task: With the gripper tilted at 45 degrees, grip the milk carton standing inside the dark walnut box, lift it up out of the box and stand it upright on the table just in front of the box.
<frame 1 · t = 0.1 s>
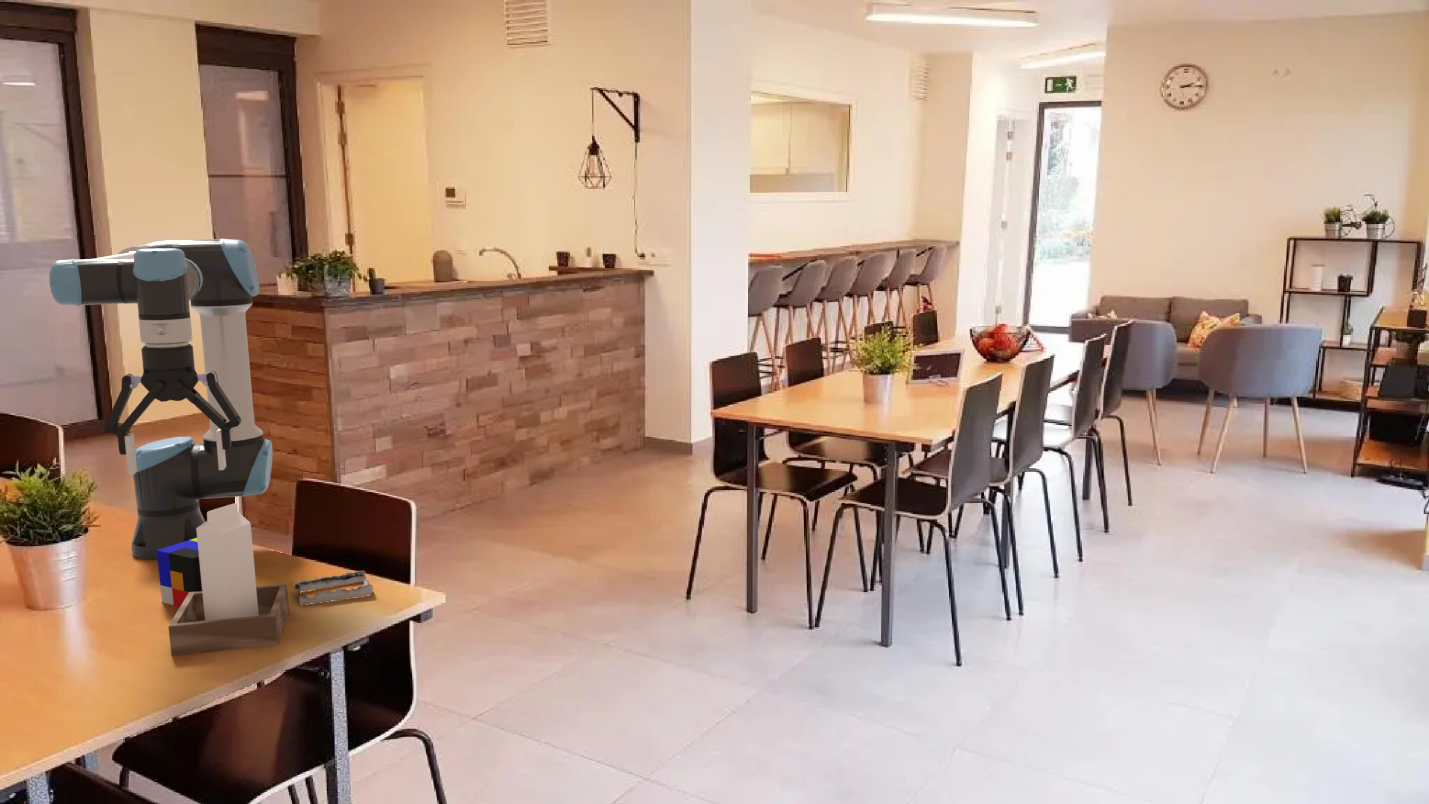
hand: (178, 471, 177), 28 cm above the table, tool pointing down, fingers open, 13 cm apart
milk: (233, 633, 182), resting in walnut box
walnut box: (233, 631, 182), on the table
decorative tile: (333, 596, 200), on the table
puzzle toy: (204, 599, 198), on the table
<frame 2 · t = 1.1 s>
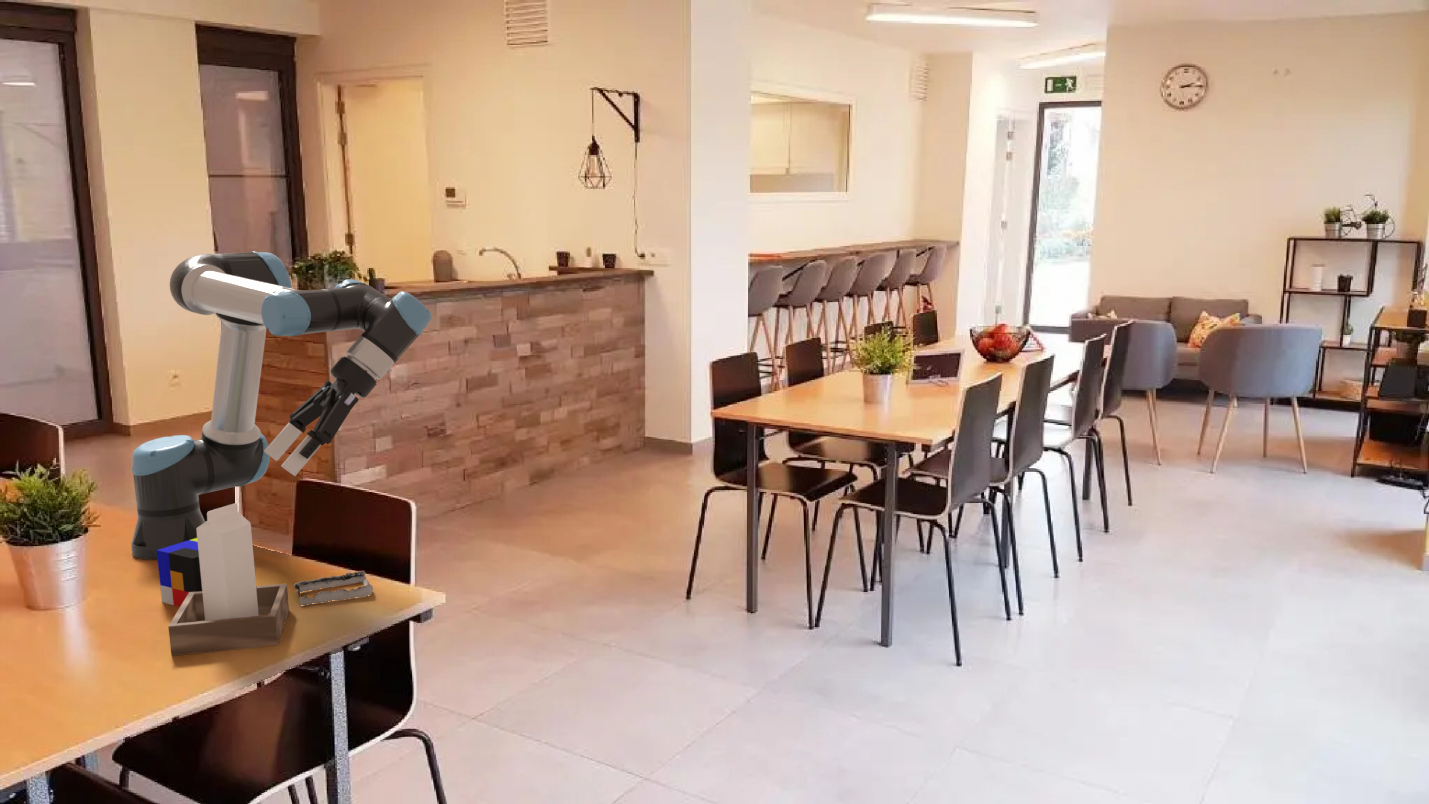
hand: (278, 463, 182), 28 cm above the table, tool tilted 45°, fingers open, 13 cm apart
nothing on the table moved.
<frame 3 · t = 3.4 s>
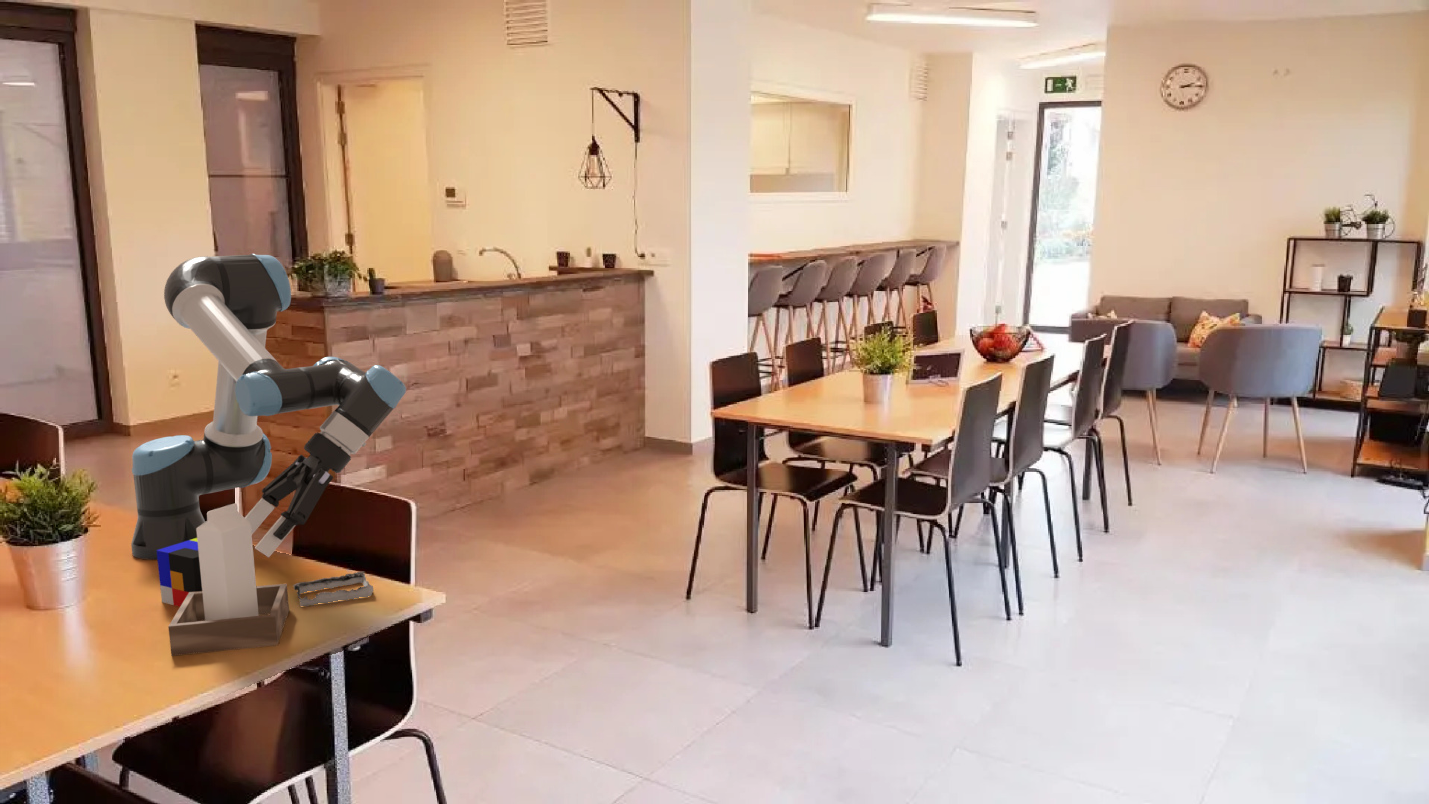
hand: (251, 542, 180), 15 cm above the table, tool tilted 45°, fingers open, 13 cm apart
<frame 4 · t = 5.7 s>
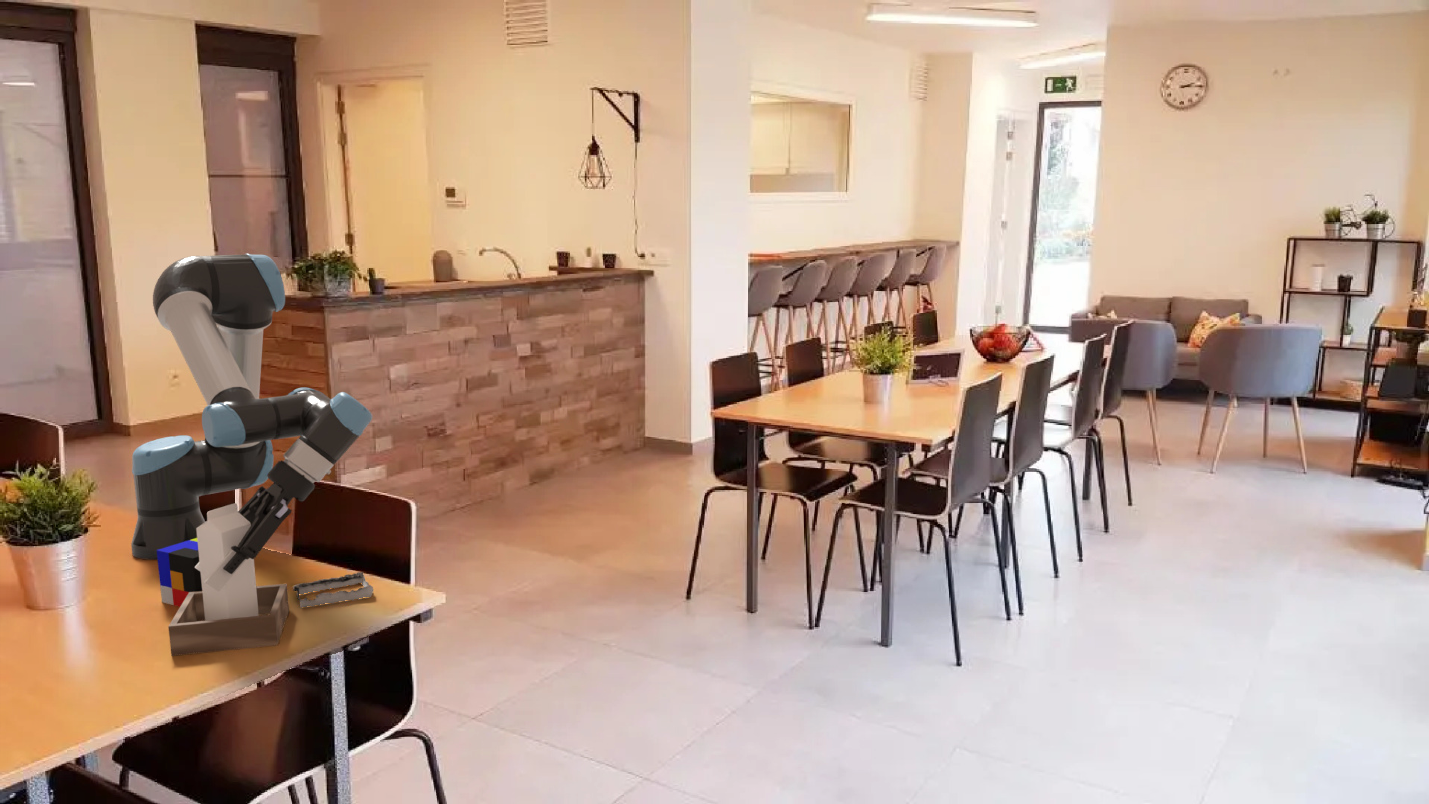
hand: (206, 579, 178), 10 cm above the table, tool tilted 45°, fingers closed on milk, 8 cm apart
milk: (233, 632, 182), resting in walnut box, touching gripper
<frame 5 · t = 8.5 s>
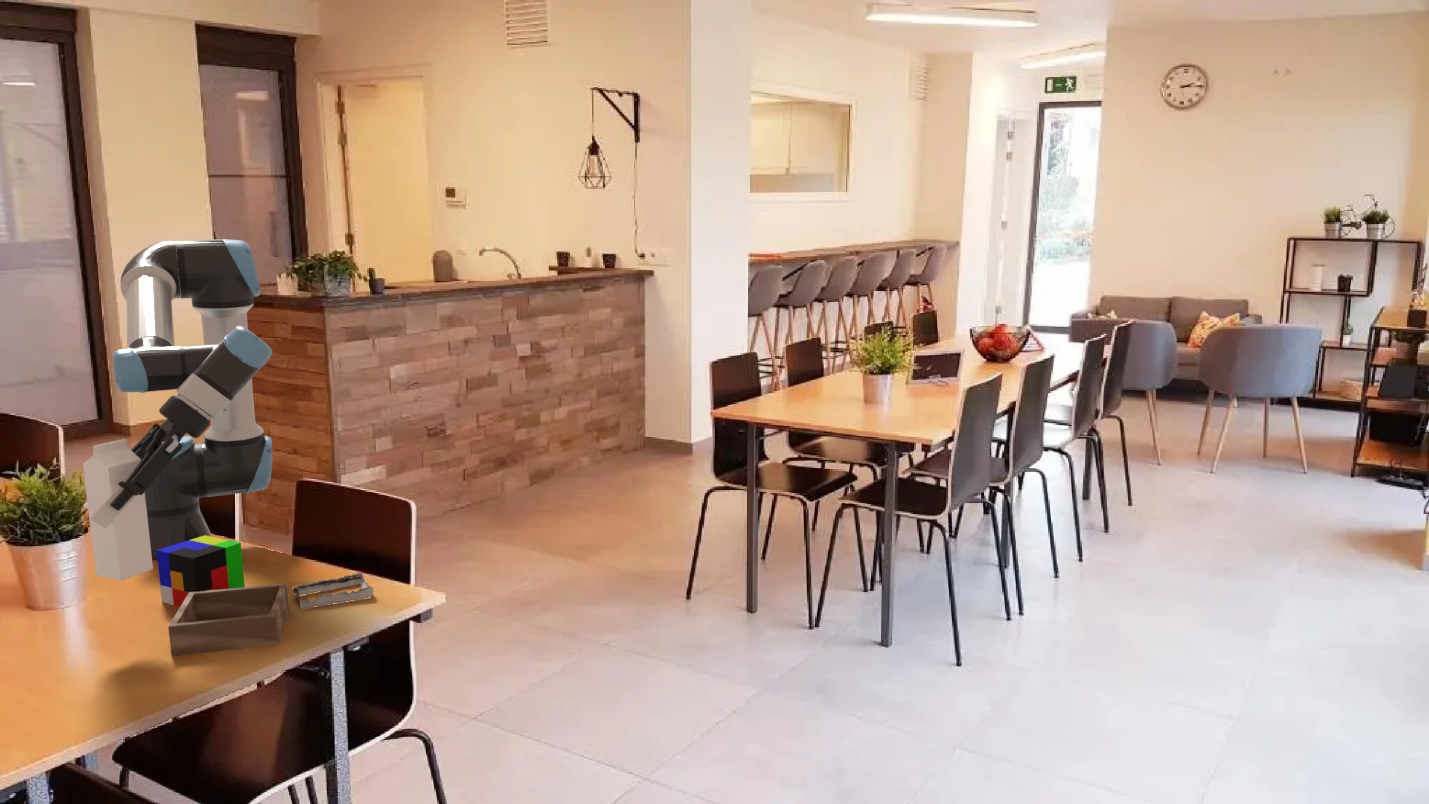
hand: (94, 516, 171), 22 cm above the table, tool tilted 45°, fingers closed on milk, 8 cm apart
milk: (124, 573, 175), point 12 cm above the table, touching gripper
when the fingers open (12 cm above the table, at t = 11.7 s): milk drops 1 cm, on the table.
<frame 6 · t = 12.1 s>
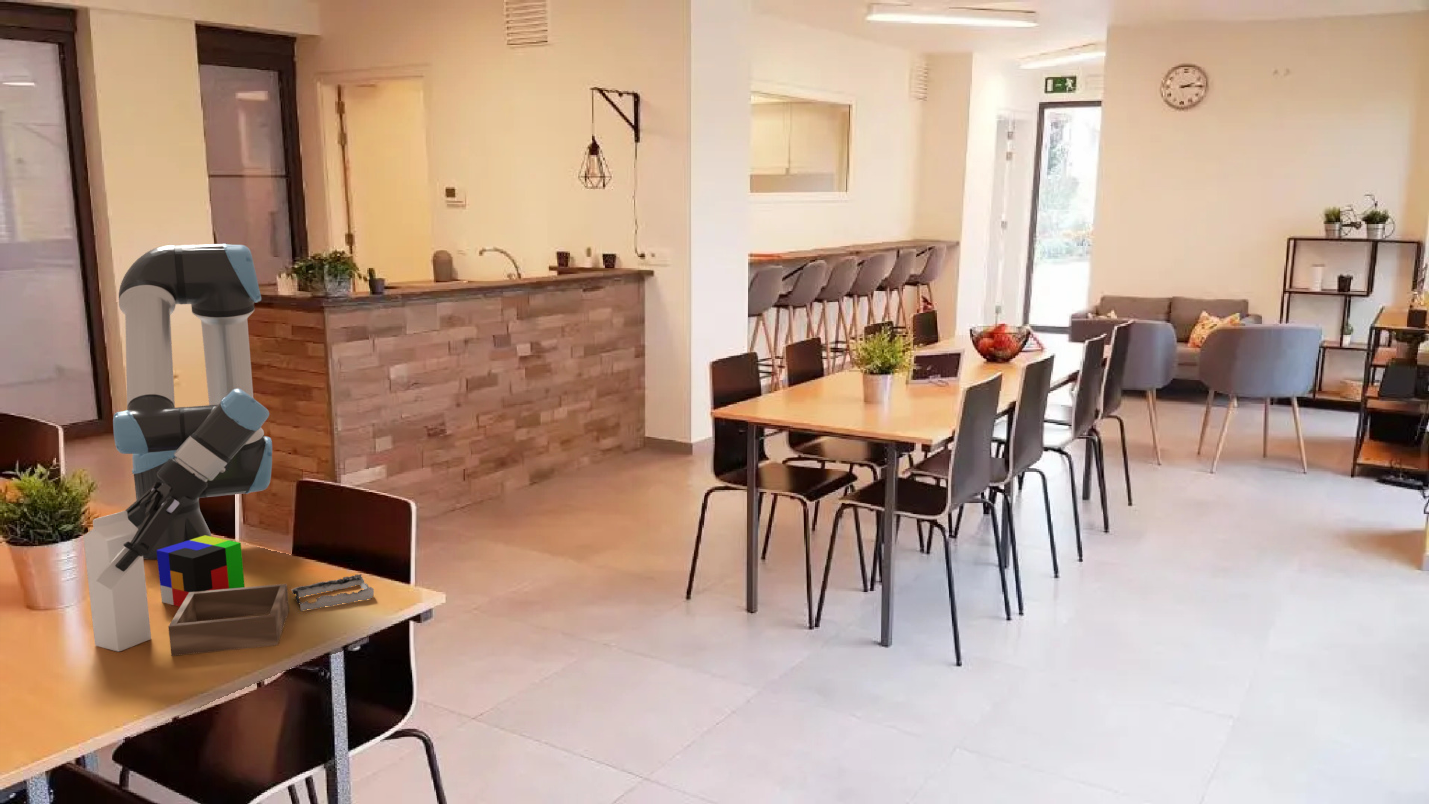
hand: (98, 573, 174), 13 cm above the table, tool tilted 45°, fingers open, 13 cm apart
milk: (123, 643, 177), on the table
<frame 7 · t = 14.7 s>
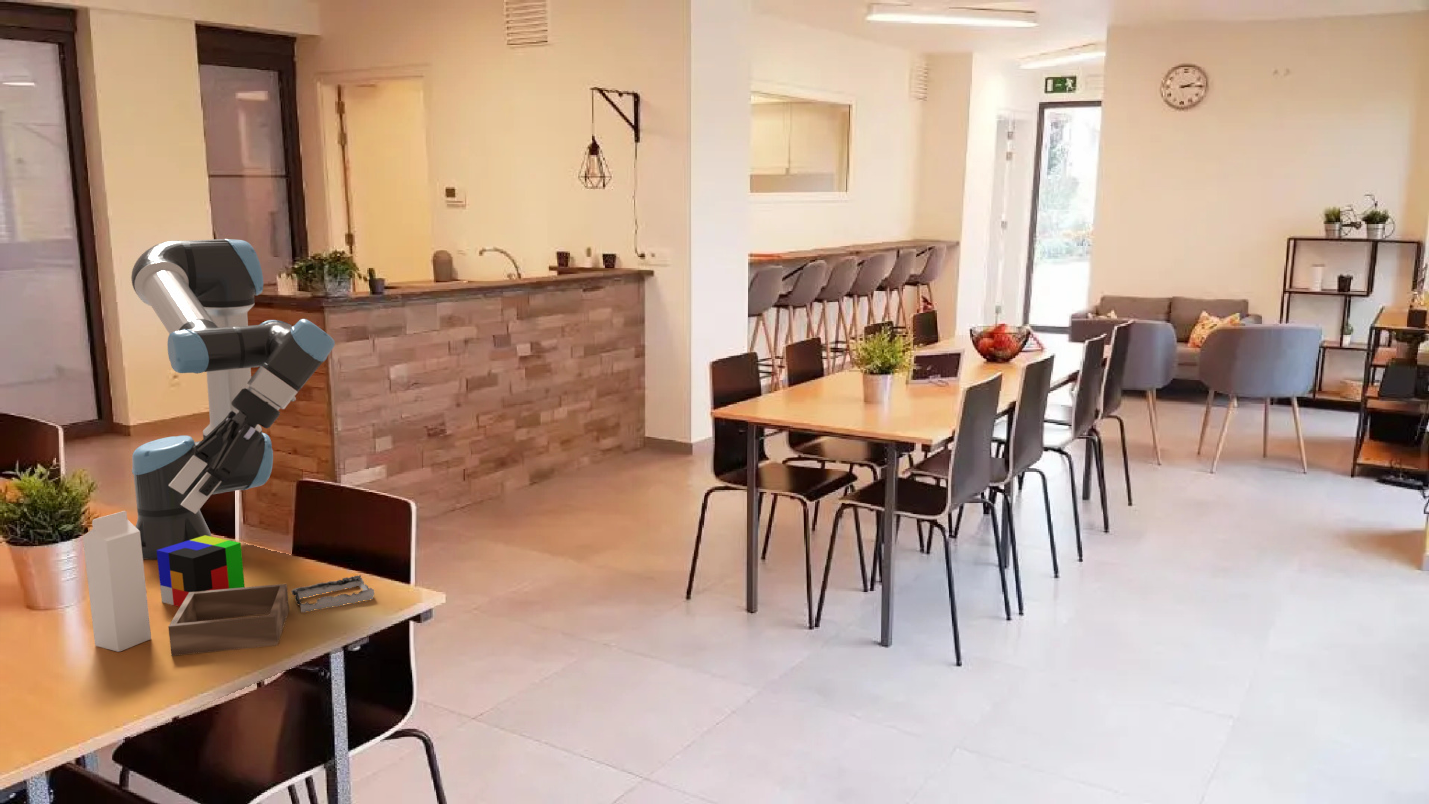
hand: (181, 499, 180), 23 cm above the table, tool tilted 40°, fingers open, 13 cm apart
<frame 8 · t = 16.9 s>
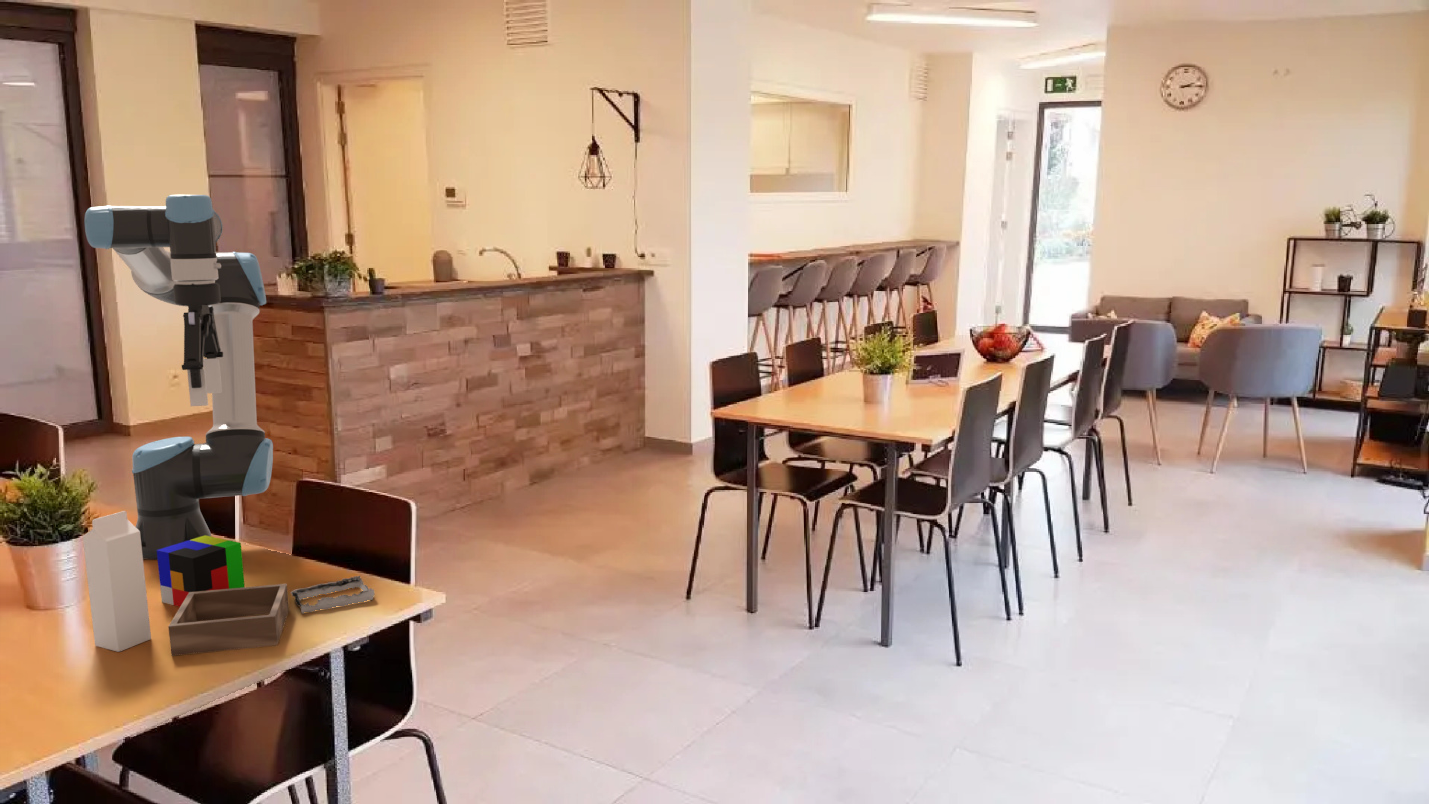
hand: (206, 399, 194), 37 cm above the table, tool pointing down, fingers open, 13 cm apart
at the end: milk inside the target area (1.3 cm from its centre), on the table; milk tilted 0°; the gripper is holding nothing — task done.
